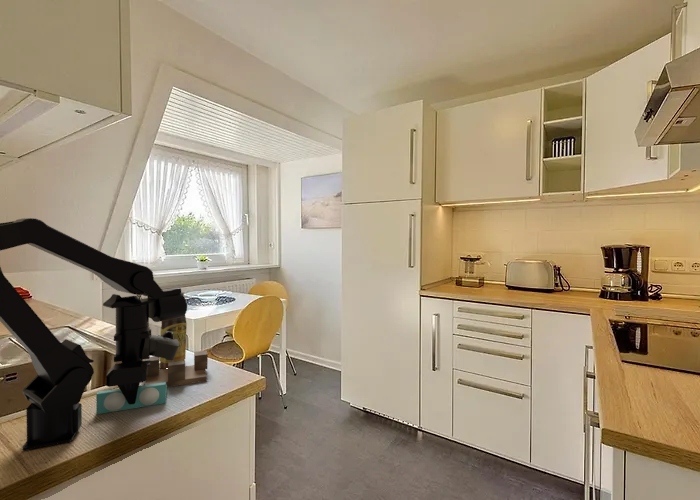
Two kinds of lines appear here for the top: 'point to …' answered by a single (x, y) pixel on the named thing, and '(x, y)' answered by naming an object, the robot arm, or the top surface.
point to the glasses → (117, 401)
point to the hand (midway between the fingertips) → (132, 402)
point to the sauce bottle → (179, 333)
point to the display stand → (178, 371)
